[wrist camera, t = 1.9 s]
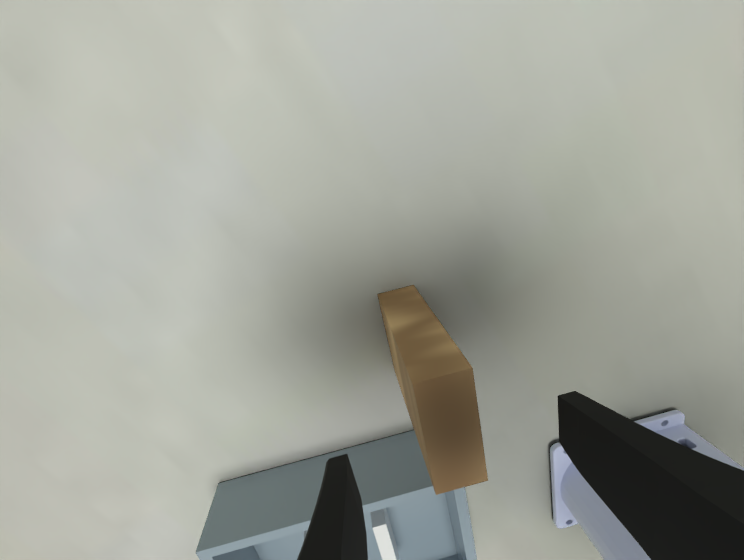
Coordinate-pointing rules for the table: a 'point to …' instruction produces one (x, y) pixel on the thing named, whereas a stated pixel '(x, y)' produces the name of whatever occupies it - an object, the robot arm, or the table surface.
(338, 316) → the table surface
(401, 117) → the table surface
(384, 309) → the wooden rectangular block
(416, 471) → the slotted square caddy
